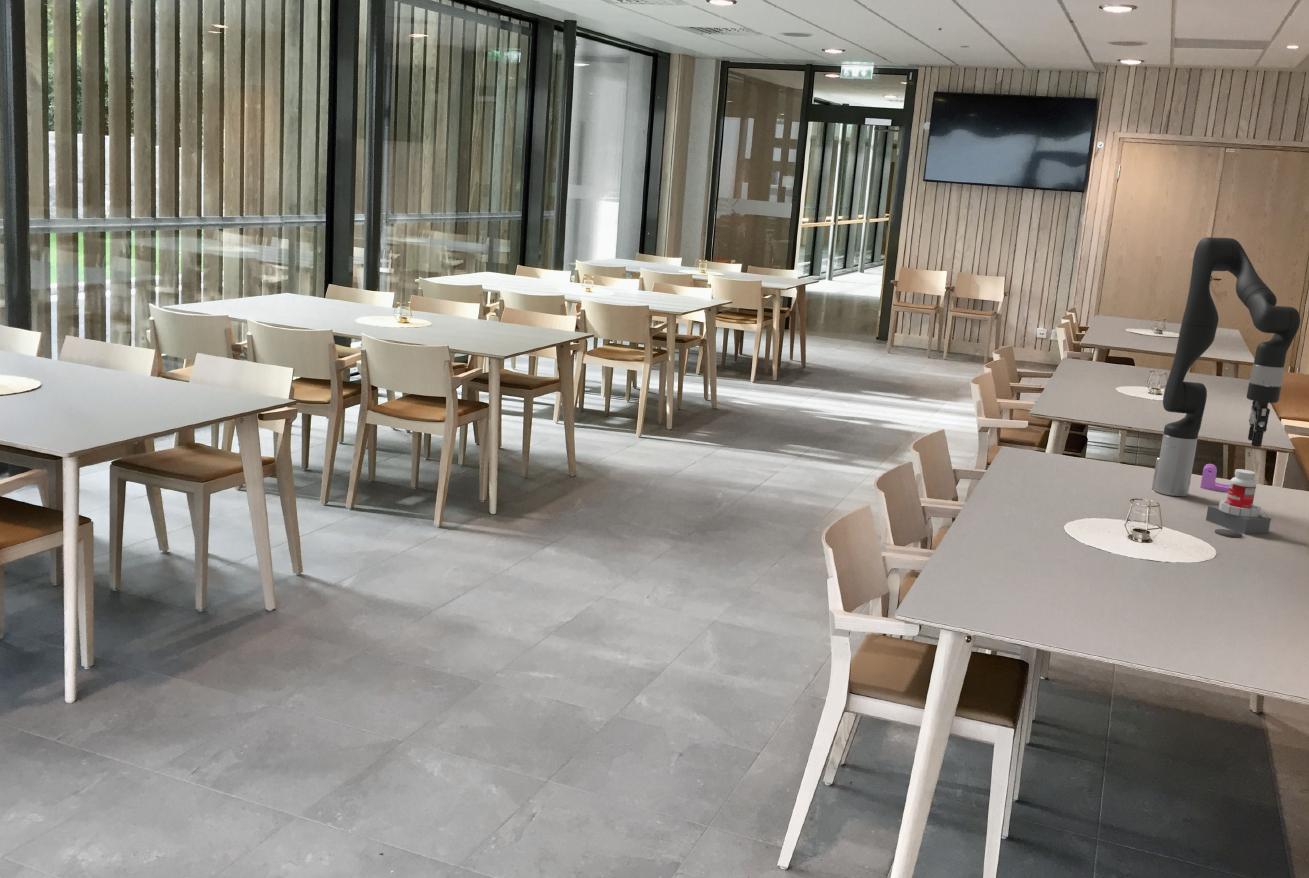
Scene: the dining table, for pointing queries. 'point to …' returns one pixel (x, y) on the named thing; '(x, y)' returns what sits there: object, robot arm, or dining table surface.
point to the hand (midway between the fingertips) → (1254, 443)
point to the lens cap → (1228, 533)
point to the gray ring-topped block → (1239, 518)
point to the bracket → (1212, 479)
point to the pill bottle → (1242, 489)
